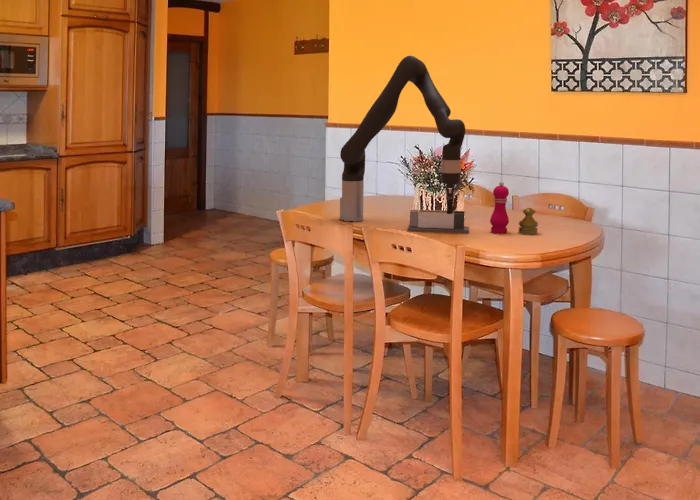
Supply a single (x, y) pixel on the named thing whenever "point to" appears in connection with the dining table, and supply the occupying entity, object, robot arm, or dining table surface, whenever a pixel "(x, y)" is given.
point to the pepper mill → (500, 210)
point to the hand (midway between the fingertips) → (449, 212)
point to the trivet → (438, 230)
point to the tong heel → (414, 218)
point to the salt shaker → (528, 223)
